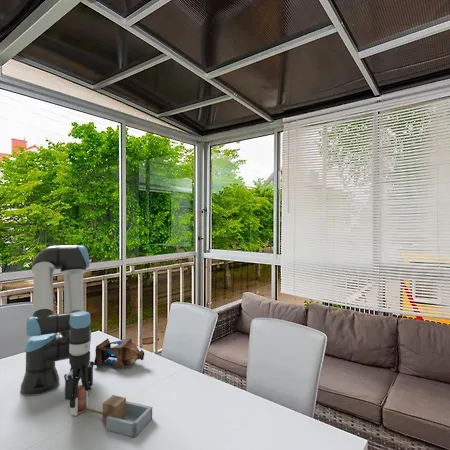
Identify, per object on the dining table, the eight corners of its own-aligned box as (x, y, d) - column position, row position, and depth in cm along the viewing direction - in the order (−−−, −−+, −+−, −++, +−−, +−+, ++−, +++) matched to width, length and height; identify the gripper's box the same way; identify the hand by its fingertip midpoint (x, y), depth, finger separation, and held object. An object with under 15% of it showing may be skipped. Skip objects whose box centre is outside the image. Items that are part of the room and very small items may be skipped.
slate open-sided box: (106, 430, 113) (106, 417, 113) (125, 412, 124) (125, 400, 124) (134, 437, 110) (134, 425, 110) (152, 418, 120) (152, 407, 120)
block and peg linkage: (68, 413, 122) (68, 390, 122) (80, 405, 128) (80, 382, 128) (115, 425, 115) (116, 401, 115) (125, 416, 121) (126, 392, 121)
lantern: (99, 375, 166) (144, 377, 162) (86, 361, 156) (134, 362, 151) (110, 346, 178) (152, 347, 174) (99, 331, 168) (143, 332, 164)
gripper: (69, 362, 114) (69, 426, 115) (102, 345, 131) (102, 400, 132) (53, 360, 117) (53, 422, 117) (88, 342, 134) (87, 397, 134)
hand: (79, 410), depth 124 cm, fingers closed on block and peg linkage, 5 cm apart
